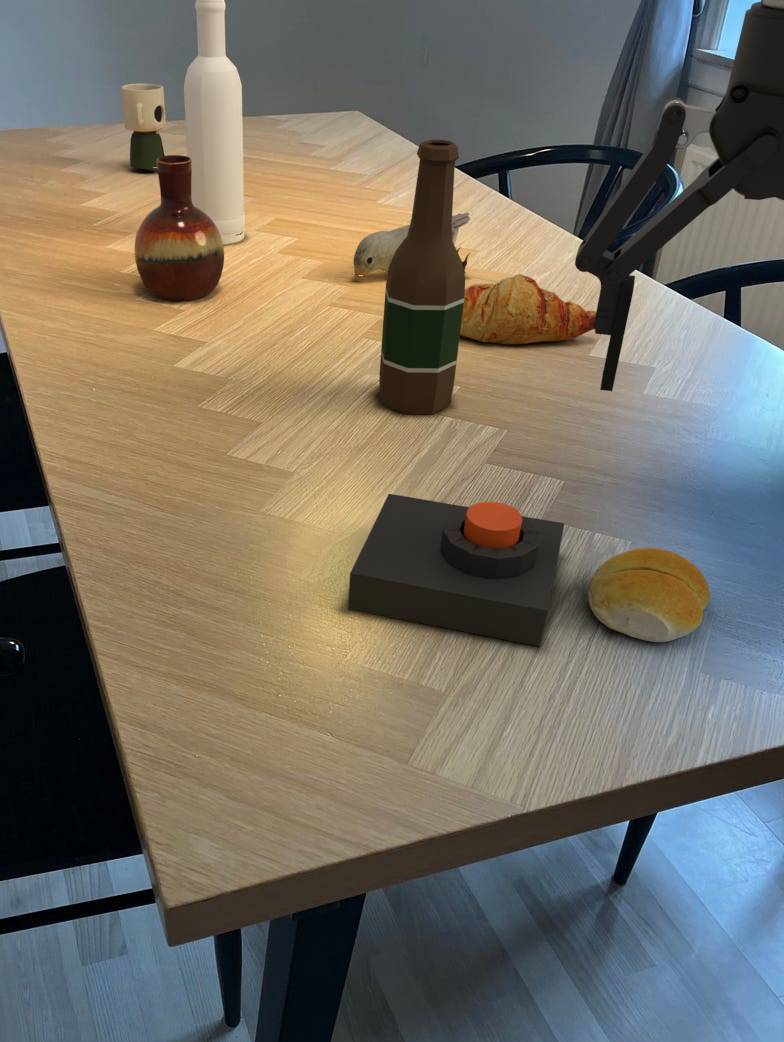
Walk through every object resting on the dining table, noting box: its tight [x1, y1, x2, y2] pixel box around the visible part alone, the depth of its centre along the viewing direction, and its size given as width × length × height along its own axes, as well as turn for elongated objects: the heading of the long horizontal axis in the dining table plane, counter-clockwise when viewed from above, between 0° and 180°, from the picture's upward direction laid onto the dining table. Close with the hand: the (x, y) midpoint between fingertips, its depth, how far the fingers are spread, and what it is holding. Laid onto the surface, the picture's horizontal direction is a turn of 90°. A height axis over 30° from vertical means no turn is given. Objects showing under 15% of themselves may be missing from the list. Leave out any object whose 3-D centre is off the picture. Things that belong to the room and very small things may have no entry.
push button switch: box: [347, 493, 565, 647], centre depth 73 cm, size 14×12×5 cm
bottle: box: [183, 0, 246, 246], centre depth 133 cm, size 8×8×30 cm
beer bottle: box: [378, 139, 466, 415], centre depth 93 cm, size 8×8×24 cm
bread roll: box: [587, 547, 711, 643], centre depth 71 cm, size 8×9×4 cm
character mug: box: [121, 83, 166, 173], centre depth 169 cm, size 11×7×13 cm, turn 177°
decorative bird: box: [353, 212, 471, 282], centre depth 128 cm, size 5×16×8 cm, turn 109°
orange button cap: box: [464, 501, 523, 549], centre depth 71 cm, size 4×4×2 cm
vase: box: [134, 154, 225, 302], centre depth 120 cm, size 11×11×15 cm
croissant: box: [460, 273, 596, 345], centre depth 113 cm, size 21×10×8 cm, turn 79°
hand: (716, 396), depth 63 cm, fingers open, 13 cm apart
